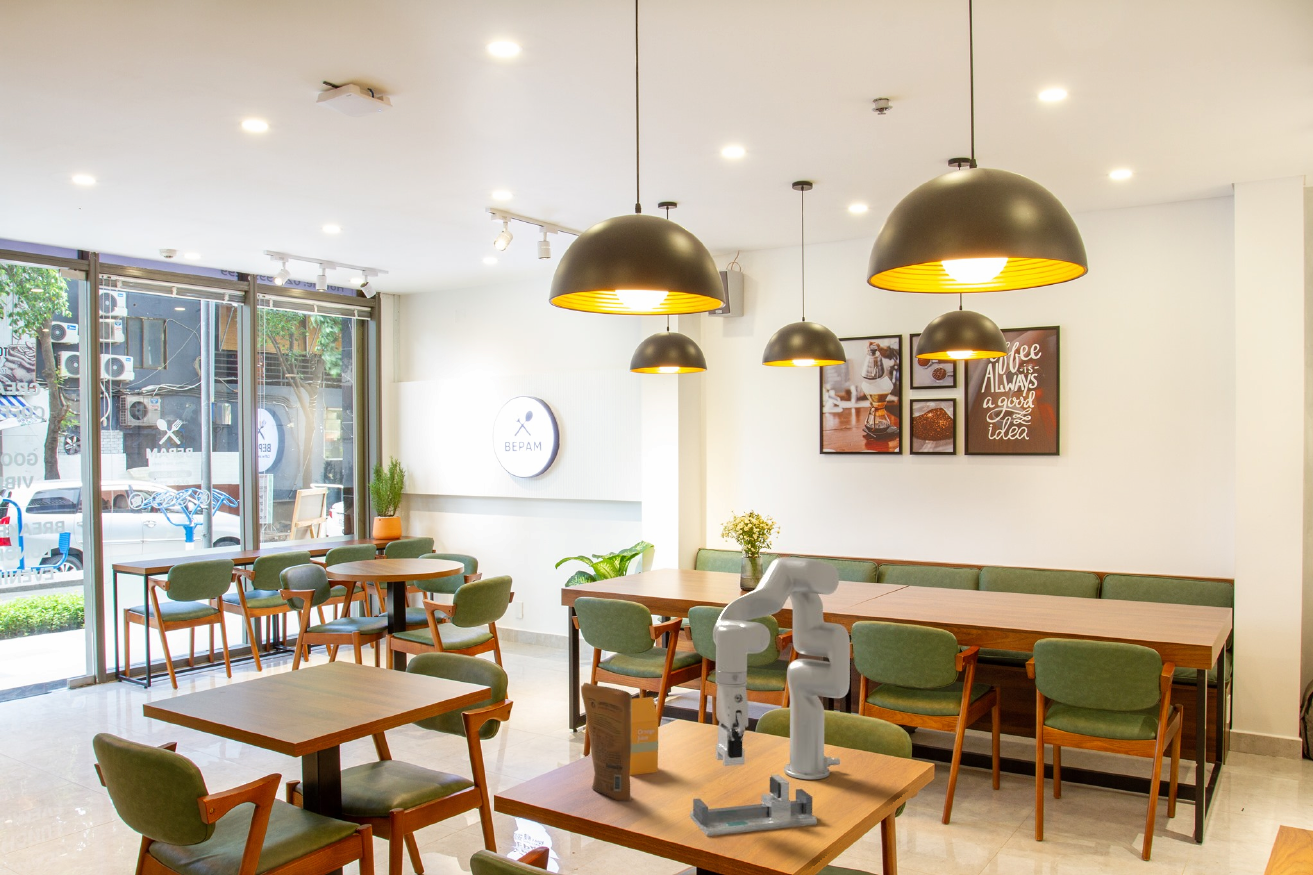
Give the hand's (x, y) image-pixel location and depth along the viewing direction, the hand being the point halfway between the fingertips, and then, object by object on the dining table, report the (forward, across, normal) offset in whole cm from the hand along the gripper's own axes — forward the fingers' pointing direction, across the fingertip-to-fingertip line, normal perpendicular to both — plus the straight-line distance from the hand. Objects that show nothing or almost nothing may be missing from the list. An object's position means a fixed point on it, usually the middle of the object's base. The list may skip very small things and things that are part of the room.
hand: (730, 752), depth 225 cm
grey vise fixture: (+17, 0, -6) cm, 18 cm away
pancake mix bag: (+17, +28, +23) cm, 40 cm away
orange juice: (+17, +45, +10) cm, 49 cm away
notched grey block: (+2, 0, 0) cm, 2 cm away
